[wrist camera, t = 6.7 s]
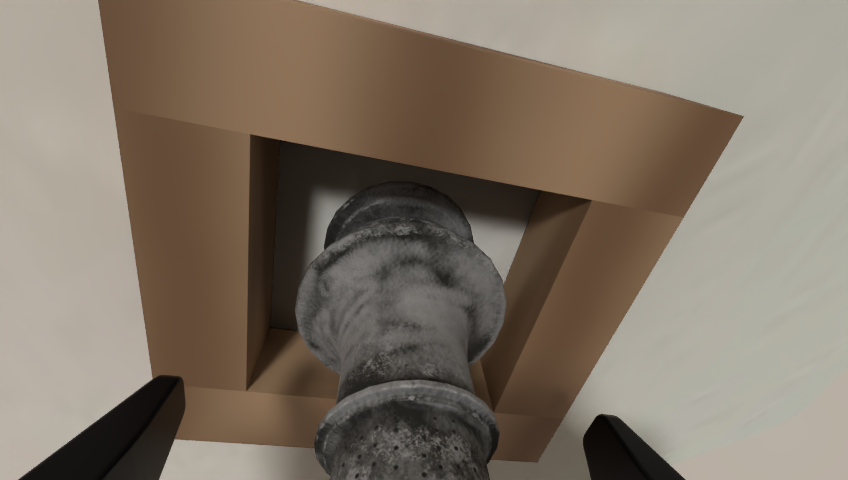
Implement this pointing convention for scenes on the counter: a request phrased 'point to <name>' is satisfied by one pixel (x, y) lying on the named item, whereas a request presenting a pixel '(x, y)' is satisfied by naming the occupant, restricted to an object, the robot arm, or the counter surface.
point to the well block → (393, 141)
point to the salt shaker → (402, 337)
